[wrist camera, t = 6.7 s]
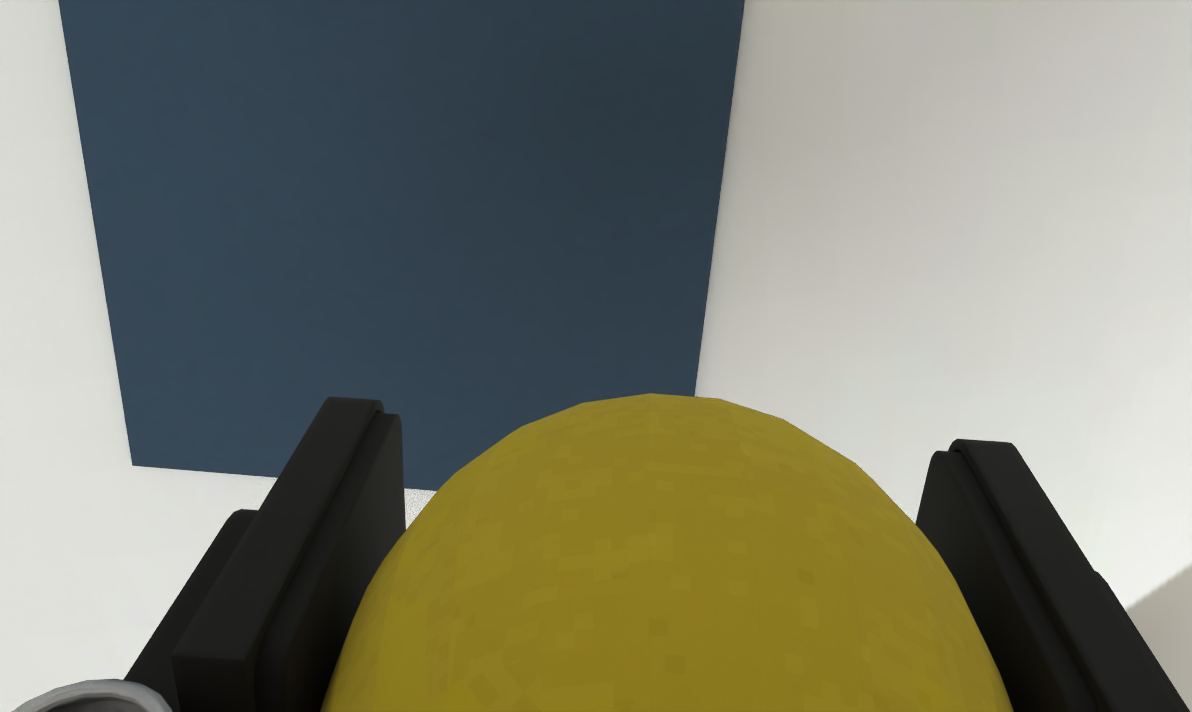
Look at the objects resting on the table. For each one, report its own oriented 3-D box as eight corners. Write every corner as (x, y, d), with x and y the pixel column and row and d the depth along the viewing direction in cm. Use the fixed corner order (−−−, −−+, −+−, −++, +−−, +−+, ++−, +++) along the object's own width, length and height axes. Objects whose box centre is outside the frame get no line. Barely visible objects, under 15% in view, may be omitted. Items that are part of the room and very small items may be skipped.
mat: (5, -365, 20) (-1, -367, 20) (782, -307, 20) (783, -309, 20) (135, 462, 29) (132, 465, 29) (679, 507, 29) (679, 511, 29)
